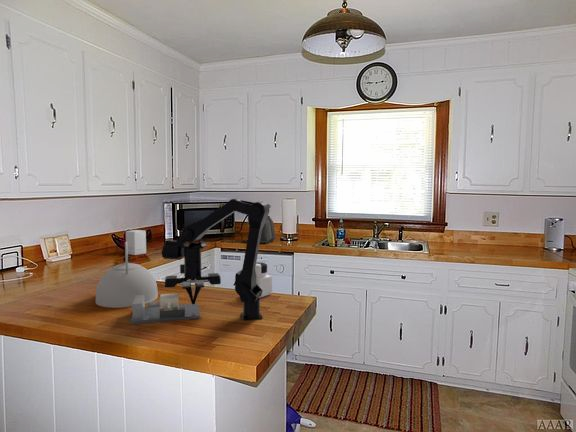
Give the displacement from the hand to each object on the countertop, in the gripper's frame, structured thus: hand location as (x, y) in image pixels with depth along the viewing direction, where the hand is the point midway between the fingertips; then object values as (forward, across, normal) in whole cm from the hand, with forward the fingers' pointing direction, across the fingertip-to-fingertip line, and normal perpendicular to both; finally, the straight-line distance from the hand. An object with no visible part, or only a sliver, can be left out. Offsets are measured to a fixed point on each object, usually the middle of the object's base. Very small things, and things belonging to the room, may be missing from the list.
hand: (193, 304), depth 136 cm
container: (+3, -27, -16) cm, 32 cm away
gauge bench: (+3, +9, 0) cm, 9 cm away
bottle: (+3, -58, -156) cm, 167 cm away
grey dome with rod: (+3, +24, -25) cm, 35 cm away
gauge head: (+2, +10, +2) cm, 10 cm away
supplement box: (+3, +31, -126) cm, 130 cm away
